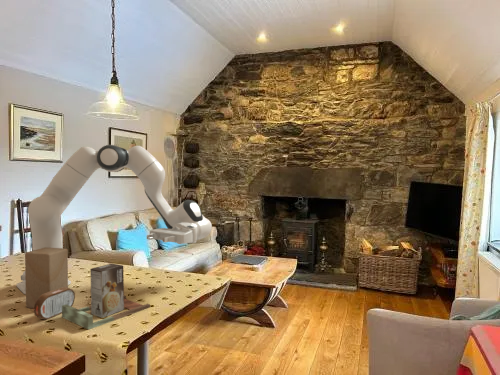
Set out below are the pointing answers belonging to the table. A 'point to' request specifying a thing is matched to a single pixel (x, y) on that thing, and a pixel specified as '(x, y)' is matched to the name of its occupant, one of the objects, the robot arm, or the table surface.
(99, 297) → the coffee box
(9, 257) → the table surface
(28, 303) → the wooden block
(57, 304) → the tin
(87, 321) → the brown low open piece
